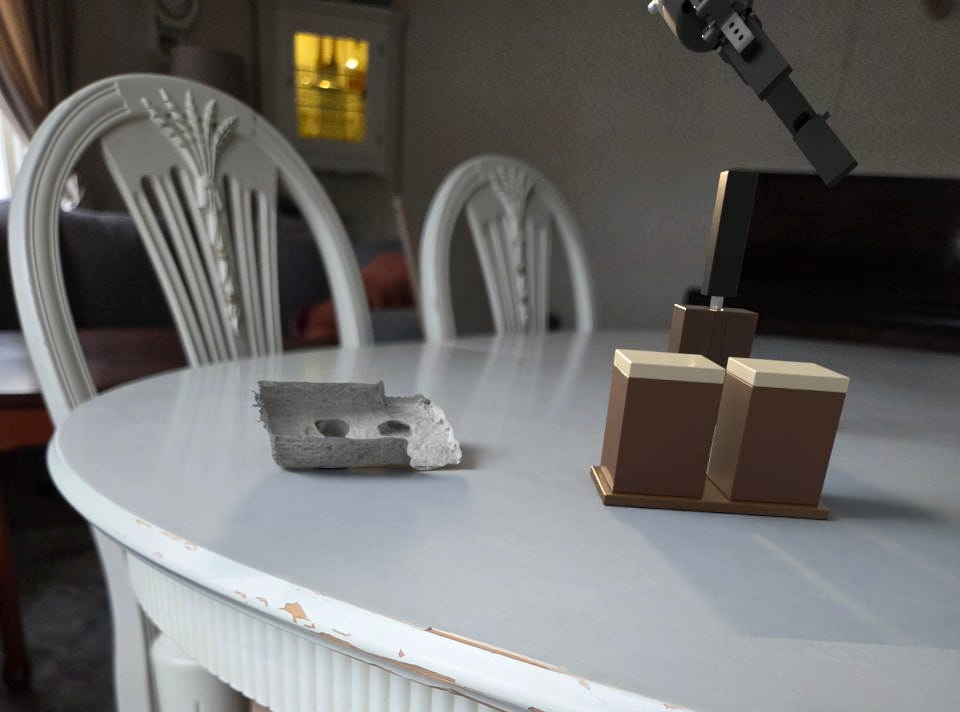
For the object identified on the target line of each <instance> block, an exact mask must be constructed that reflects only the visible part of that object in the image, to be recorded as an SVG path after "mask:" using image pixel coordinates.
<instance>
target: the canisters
mask: <svg viewBox="0 0 960 712" xmlns="http://www.w3.org/2000/svg"><path fill="white" fill-rule="evenodd" d="M726 370H727V372H726V375H725V371H726ZM724 377H725V380H724ZM850 381H851V377H849V376H846V375H844V374H841V373H838V372H836V371H833V370H831V369H829V368H826V367H824V366H821V365H819V364H817V363H814V362H803V361H802V362H801V361H788V360H786V361H785V360H773V359H760V358H750V359H748V358H734V357H729V358H728V364H727V369H724V368H722V367H721V366H719V365H717V364H716V363H714V362H712V361H710V360H709V359H707V358H705V357H703V356H702V355H692V354H678V353H667V352H662V351H650V350H635V349H633V350H632V349H623V348H621V349H620V348H616V349H615V350H614V359H613V365H612V375H611V381H610V387H609V395H608V396H609V397H608V404H607V412H606V419H605V427H604V435H603V443H602V449H601V450H602V451H601V458H600V464H599V465H591V466H590V471H589V475H590V478H592V481H593V484H594V486H595V488H596V490H597V494H598V495H599V498H600V500H601V502H602V504H603V505H604V506H620V507H635V508H649V509H662V510H663V509H665V510H677V511H679V510H680V511H693V512H694V511H695V512H709V513H710V512H711V513H722V514H723V513H724V514H739V515H753V516H770V517H782V518H783V517H784V518H798V519H800V518H801V519H813V520H814V519H815V520H828V519H829V514H830V509H829V508H828V507H827V506H825V504H823V503H822V502H821V496H822V492H823V488H824V485H825V481H826V476H827V472H828V469H829V464H830V460H831V457H832V453H833V448H834V444H835V440H836V437H837V432H838V429H839V425H840V421H841V416H842V412H843V408H844V404H845V400H846V396H847V392H848V388H849V385H850ZM723 382H724V386H723ZM722 388H723V391H722ZM721 393H722V397H721ZM720 398H721V402H720ZM719 404H720V407H719ZM718 409H719V413H718ZM717 414H718V418H717ZM716 420H717V423H716Z"/></svg>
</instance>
